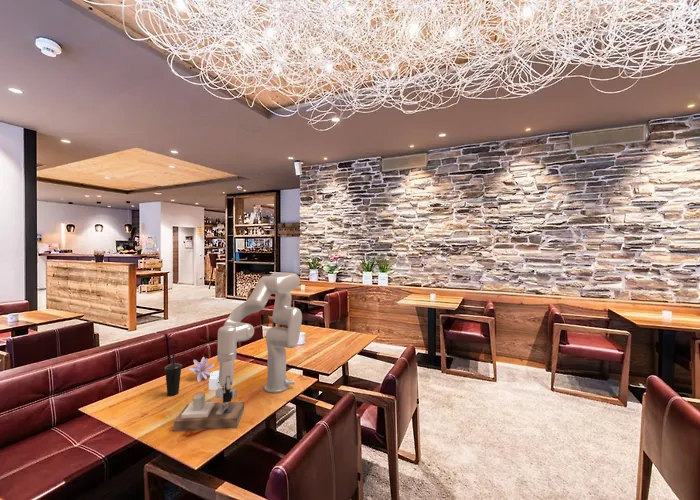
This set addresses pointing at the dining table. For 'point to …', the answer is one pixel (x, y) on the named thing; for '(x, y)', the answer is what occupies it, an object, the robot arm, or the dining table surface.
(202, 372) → the water lily
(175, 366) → the drinking cup
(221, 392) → the latch
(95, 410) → the dining table surface
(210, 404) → the cover
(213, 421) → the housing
